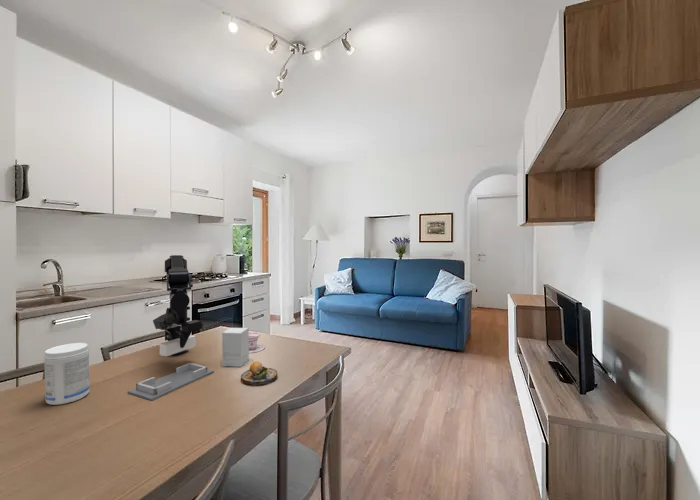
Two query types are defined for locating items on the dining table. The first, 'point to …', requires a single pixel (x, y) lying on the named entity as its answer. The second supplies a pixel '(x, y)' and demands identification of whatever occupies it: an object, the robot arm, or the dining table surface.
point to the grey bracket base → (170, 381)
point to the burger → (258, 375)
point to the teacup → (254, 342)
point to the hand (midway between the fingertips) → (178, 347)
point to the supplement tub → (66, 373)
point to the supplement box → (235, 347)
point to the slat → (176, 346)
